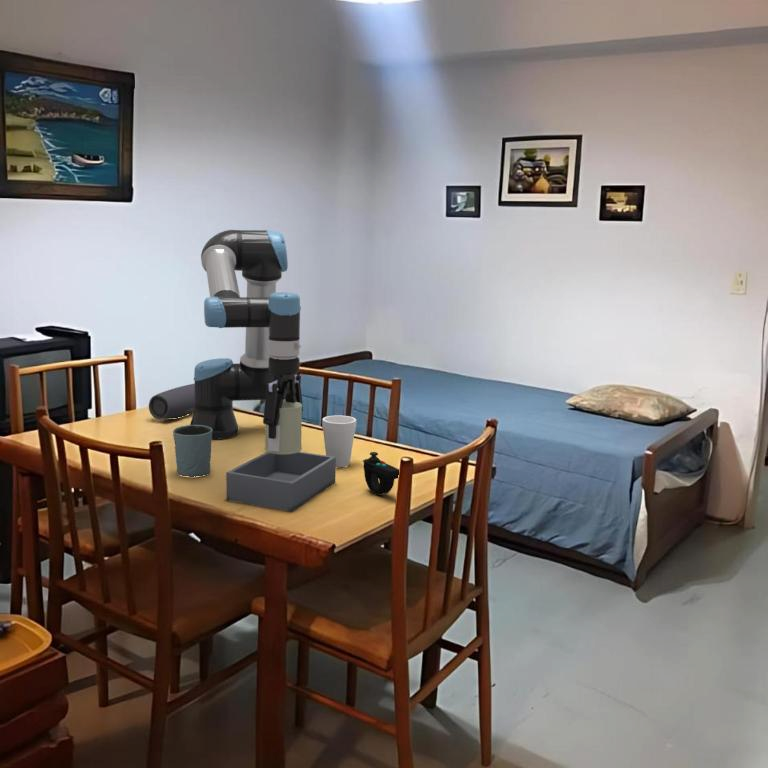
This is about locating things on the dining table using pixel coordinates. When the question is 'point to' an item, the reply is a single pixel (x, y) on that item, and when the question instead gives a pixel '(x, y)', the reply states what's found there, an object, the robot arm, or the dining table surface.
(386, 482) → the controller
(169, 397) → the bluetooth speaker
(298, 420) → the can
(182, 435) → the blue-grey textured cup
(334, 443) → the foam cup
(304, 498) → the box
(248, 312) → the robot arm
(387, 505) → the dining table surface
